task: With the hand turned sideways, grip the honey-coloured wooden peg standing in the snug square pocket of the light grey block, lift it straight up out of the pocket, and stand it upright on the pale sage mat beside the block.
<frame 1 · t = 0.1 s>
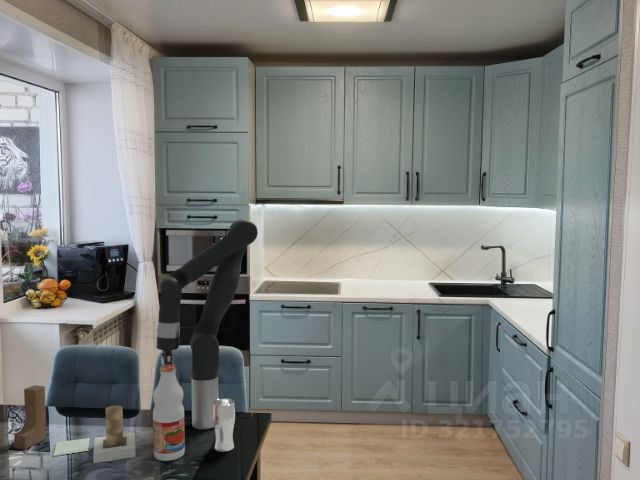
hand: (166, 381, 186), 17 cm above the table, tool pointing down, fingers open, 8 cm apart
sage mat: (72, 447, 173), on the table
wooden peg: (114, 430, 170), in the grey pocket block
wooden block: (30, 444, 176), on the table
grey pocket block: (115, 451, 170), on the table
beer glass: (224, 448, 173), on the table
fruit juice: (169, 455, 168), on the table
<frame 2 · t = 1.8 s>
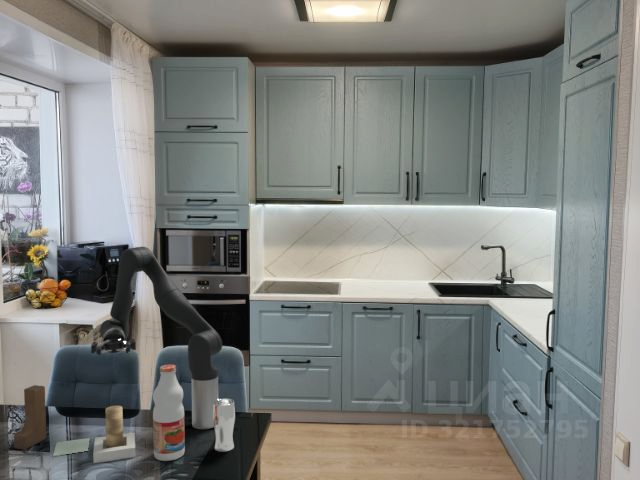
hand: (113, 351, 179), 29 cm above the table, tool horizontal, fingers open, 8 cm apart
nothing on the table moved.
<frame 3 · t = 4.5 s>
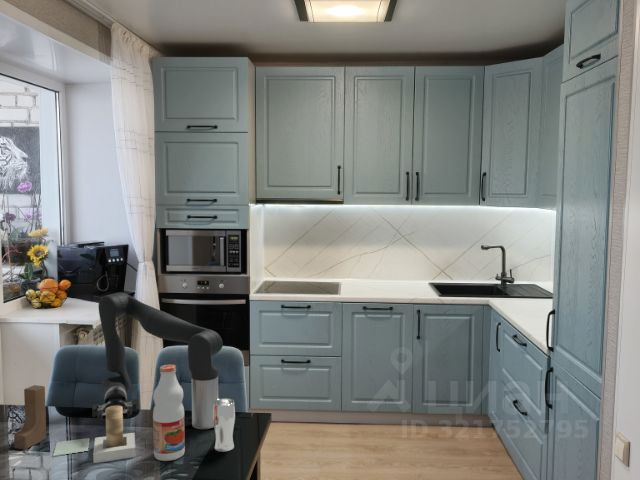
hand: (114, 415, 178), 9 cm above the table, tool horizontal, fingers open, 8 cm apart
nothing on the table moved.
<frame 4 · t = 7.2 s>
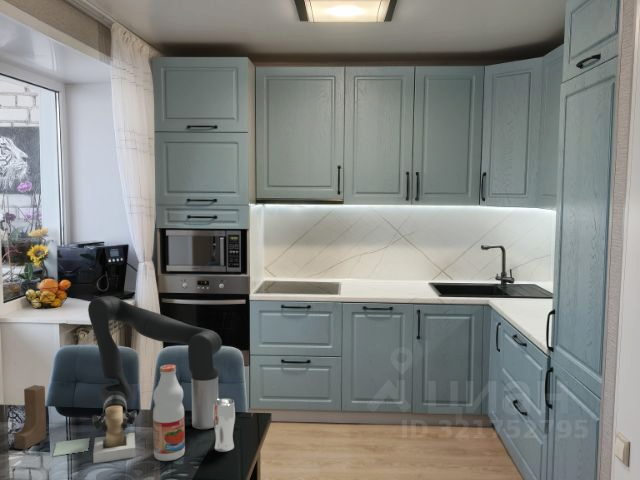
hand: (114, 428, 168), 9 cm above the table, tool horizontal, fingers closed on wooden peg, 5 cm apart
wooden peg: (114, 430, 170), in the grey pocket block, touching gripper
everything else where it was.
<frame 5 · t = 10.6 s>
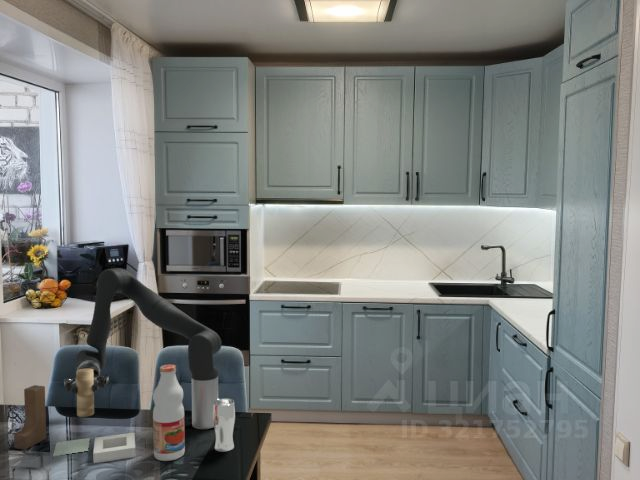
hand: (84, 389, 169), 20 cm above the table, tool horizontal, fingers closed on wooden peg, 5 cm apart
wooden peg: (85, 392, 171), point 18 cm above the table, touching gripper
everything else where it was.
when the fingers open (10 cm above the table, at t = 13.8 s): wooden peg stays where it is, resting on sage mat.
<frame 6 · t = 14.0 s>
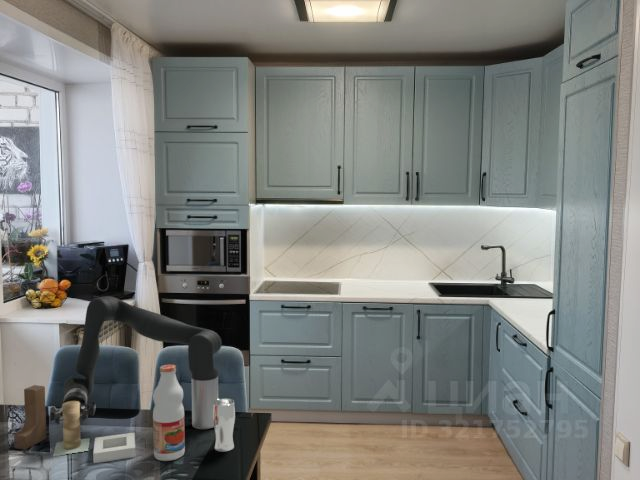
hand: (70, 419, 171), 10 cm above the table, tool horizontal, fingers open, 6 cm apart
wooden peg: (71, 425, 173), on the sage mat
everything else where it was.
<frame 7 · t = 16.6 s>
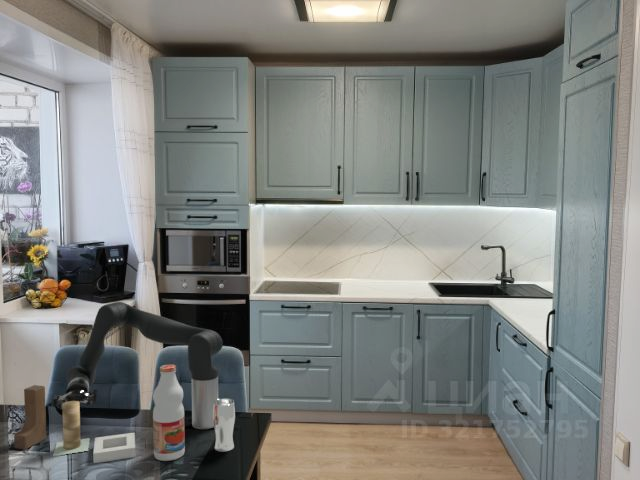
hand: (74, 405, 183), 10 cm above the table, tool horizontal, fingers open, 8 cm apart
nothing on the table moved.
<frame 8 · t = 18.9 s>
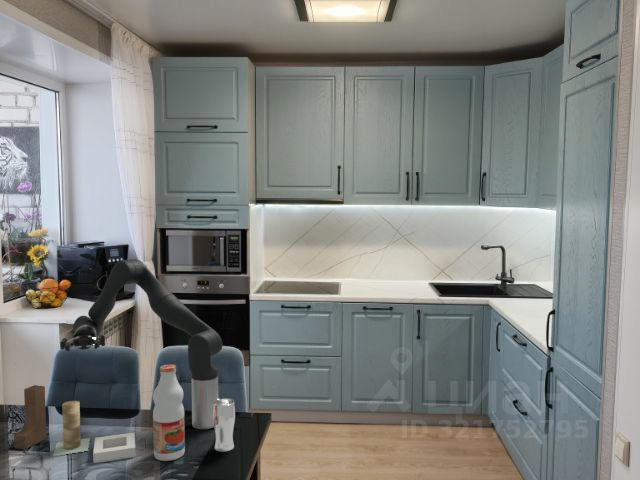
hand: (82, 347, 182), 30 cm above the table, tool horizontal, fingers open, 8 cm apart
nothing on the table moved.
at the end: wooden peg inside the target area (0.1 cm from its centre), resting on sage mat; wooden peg tilted 0°; the gripper is holding nothing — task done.
